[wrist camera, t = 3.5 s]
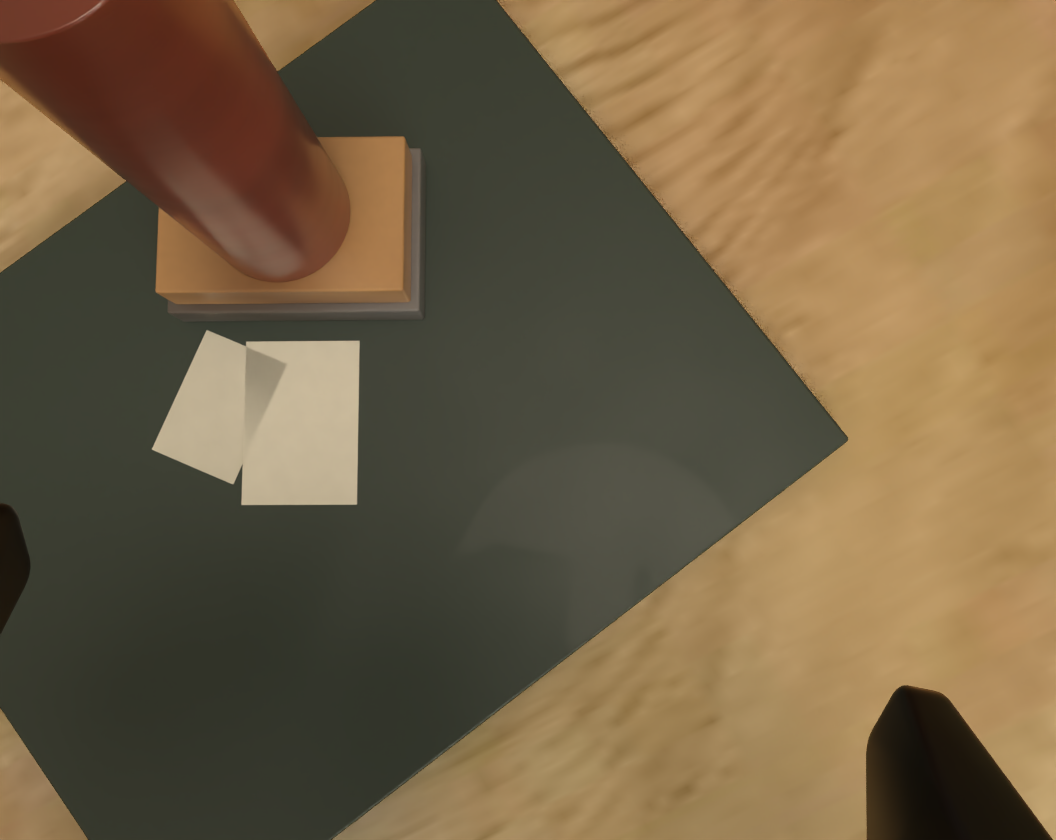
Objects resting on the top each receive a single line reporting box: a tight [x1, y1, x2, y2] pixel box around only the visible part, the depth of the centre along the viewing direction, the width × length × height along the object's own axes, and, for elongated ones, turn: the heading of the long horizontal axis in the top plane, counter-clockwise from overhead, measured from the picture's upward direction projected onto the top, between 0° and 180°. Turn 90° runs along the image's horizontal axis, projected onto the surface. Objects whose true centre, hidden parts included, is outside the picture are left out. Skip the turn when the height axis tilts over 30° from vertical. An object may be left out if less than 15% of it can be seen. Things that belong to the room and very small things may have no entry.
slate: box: [0, 0, 848, 840], centre depth 24 cm, size 20×16×1 cm
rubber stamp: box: [0, 0, 426, 322], centre depth 17 cm, size 6×4×13 cm, turn 90°
